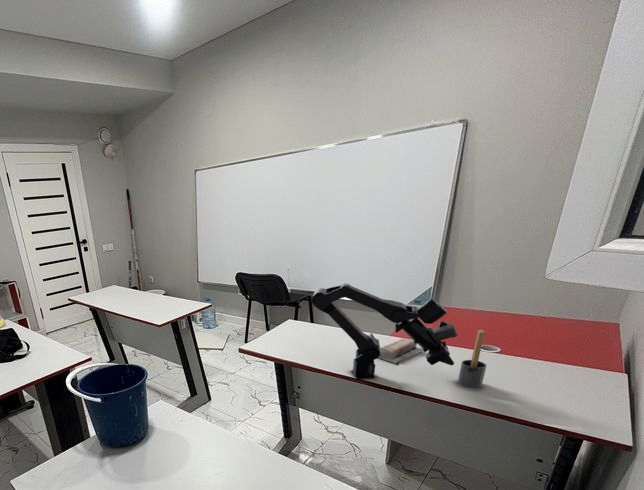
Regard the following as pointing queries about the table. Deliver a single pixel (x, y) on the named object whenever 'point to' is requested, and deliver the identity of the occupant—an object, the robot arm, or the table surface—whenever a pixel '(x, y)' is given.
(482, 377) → the grey cylinder
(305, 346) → the table surface
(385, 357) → the packaged product
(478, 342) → the wooden stick
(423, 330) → the robot arm
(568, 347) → the table surface
